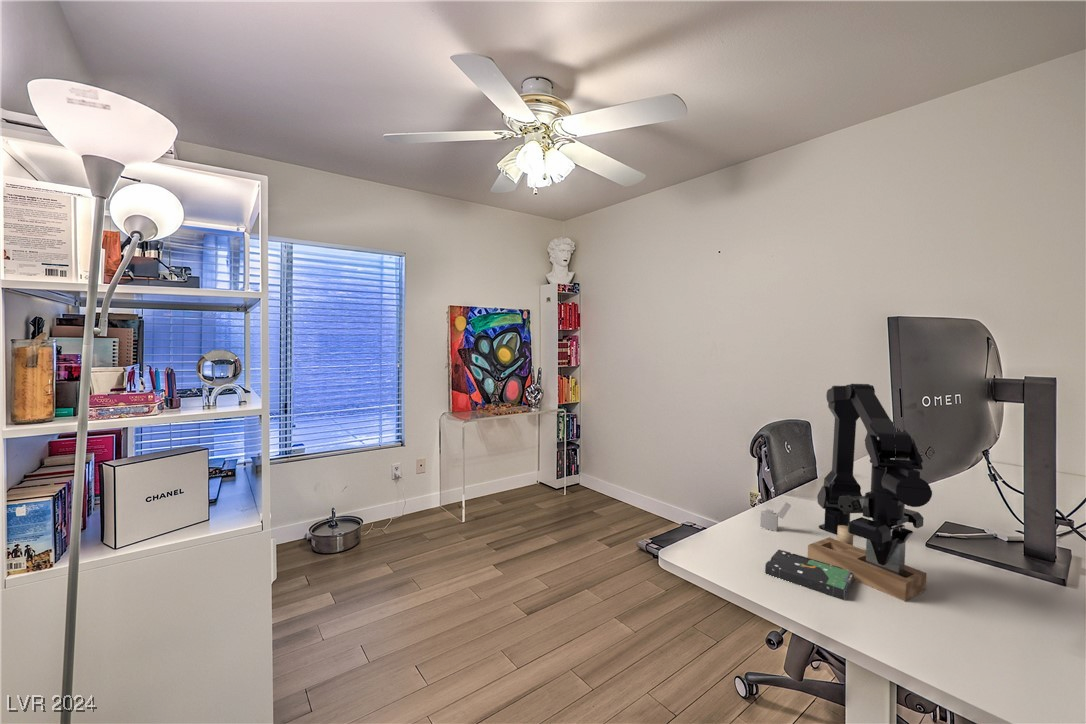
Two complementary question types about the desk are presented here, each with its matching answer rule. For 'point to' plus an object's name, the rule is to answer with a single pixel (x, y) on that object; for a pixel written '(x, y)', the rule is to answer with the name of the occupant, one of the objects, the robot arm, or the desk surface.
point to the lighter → (772, 517)
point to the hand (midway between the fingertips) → (884, 562)
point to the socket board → (868, 569)
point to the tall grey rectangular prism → (894, 561)
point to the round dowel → (844, 535)
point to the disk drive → (810, 574)
